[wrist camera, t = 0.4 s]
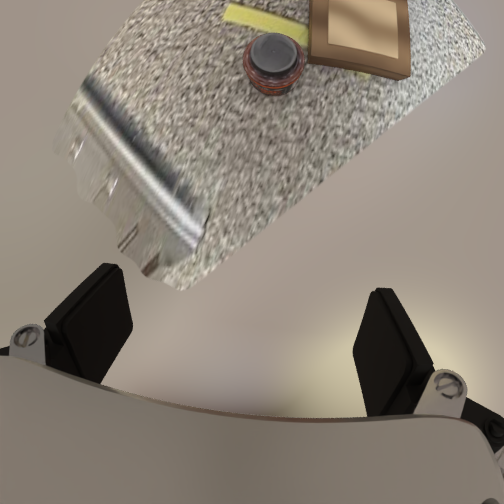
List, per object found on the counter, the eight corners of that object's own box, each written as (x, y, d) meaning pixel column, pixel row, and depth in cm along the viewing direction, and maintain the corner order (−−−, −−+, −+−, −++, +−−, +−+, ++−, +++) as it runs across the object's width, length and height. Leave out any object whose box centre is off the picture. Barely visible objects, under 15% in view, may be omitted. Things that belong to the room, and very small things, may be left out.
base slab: (309, -12, 24) (312, -26, 20) (396, 7, 23) (407, -4, 19) (307, 63, 29) (311, 54, 25) (397, 80, 28) (411, 76, 24)
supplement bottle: (244, 91, 31) (230, 74, 21) (255, 49, 29) (246, 17, 18) (292, 102, 31) (299, 89, 21) (303, 60, 29) (314, 31, 18)
